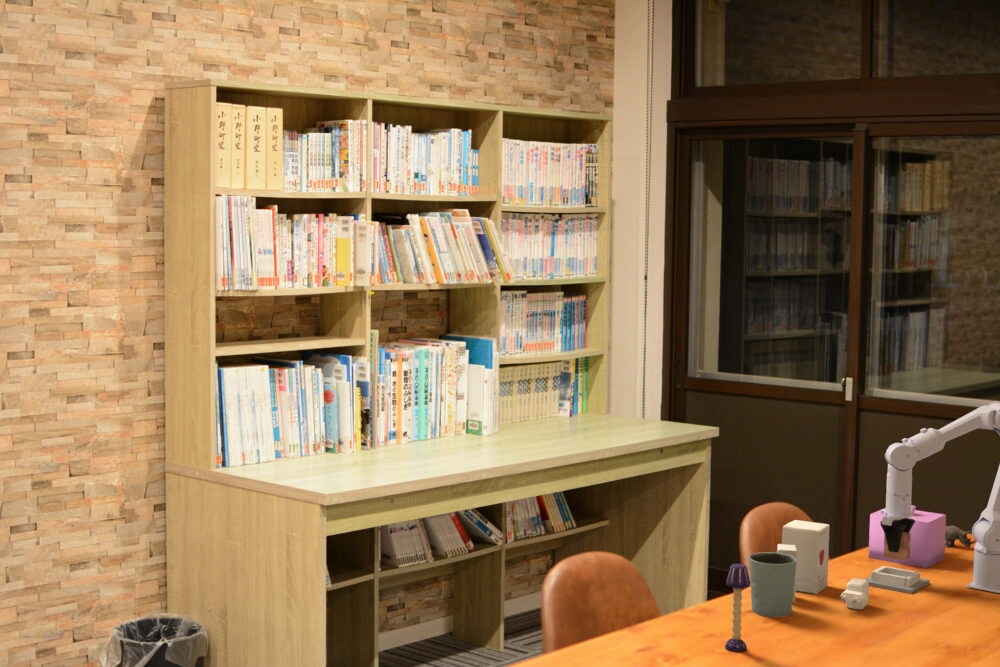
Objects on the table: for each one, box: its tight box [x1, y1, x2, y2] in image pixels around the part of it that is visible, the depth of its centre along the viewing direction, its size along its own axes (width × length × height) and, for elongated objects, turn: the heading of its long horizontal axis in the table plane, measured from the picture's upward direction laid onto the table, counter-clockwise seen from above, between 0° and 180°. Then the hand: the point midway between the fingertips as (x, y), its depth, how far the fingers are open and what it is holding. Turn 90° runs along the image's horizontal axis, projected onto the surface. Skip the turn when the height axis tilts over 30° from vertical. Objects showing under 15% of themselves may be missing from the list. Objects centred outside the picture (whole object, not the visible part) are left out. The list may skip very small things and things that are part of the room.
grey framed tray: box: [864, 565, 930, 595], centre depth 282 cm, size 12×12×3 cm
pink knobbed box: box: [868, 504, 947, 569], centre depth 306 cm, size 15×25×14 cm, turn 141°
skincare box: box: [776, 543, 797, 604], centre depth 268 cm, size 6×4×12 cm
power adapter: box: [840, 577, 870, 611], centre depth 261 cm, size 11×5×6 cm, turn 149°
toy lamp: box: [724, 563, 751, 652], centre depth 233 cm, size 5×5×17 cm
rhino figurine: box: [945, 525, 977, 549], centre depth 320 cm, size 4×14×6 cm, turn 47°
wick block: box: [884, 532, 911, 561], centre depth 282 cm, size 4×5×6 cm
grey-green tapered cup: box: [748, 551, 797, 618], centre depth 258 cm, size 10×10×12 cm
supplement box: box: [781, 519, 831, 595], centre depth 278 cm, size 9×9×15 cm
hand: (896, 550), depth 282 cm, fingers closed on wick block, 3 cm apart
